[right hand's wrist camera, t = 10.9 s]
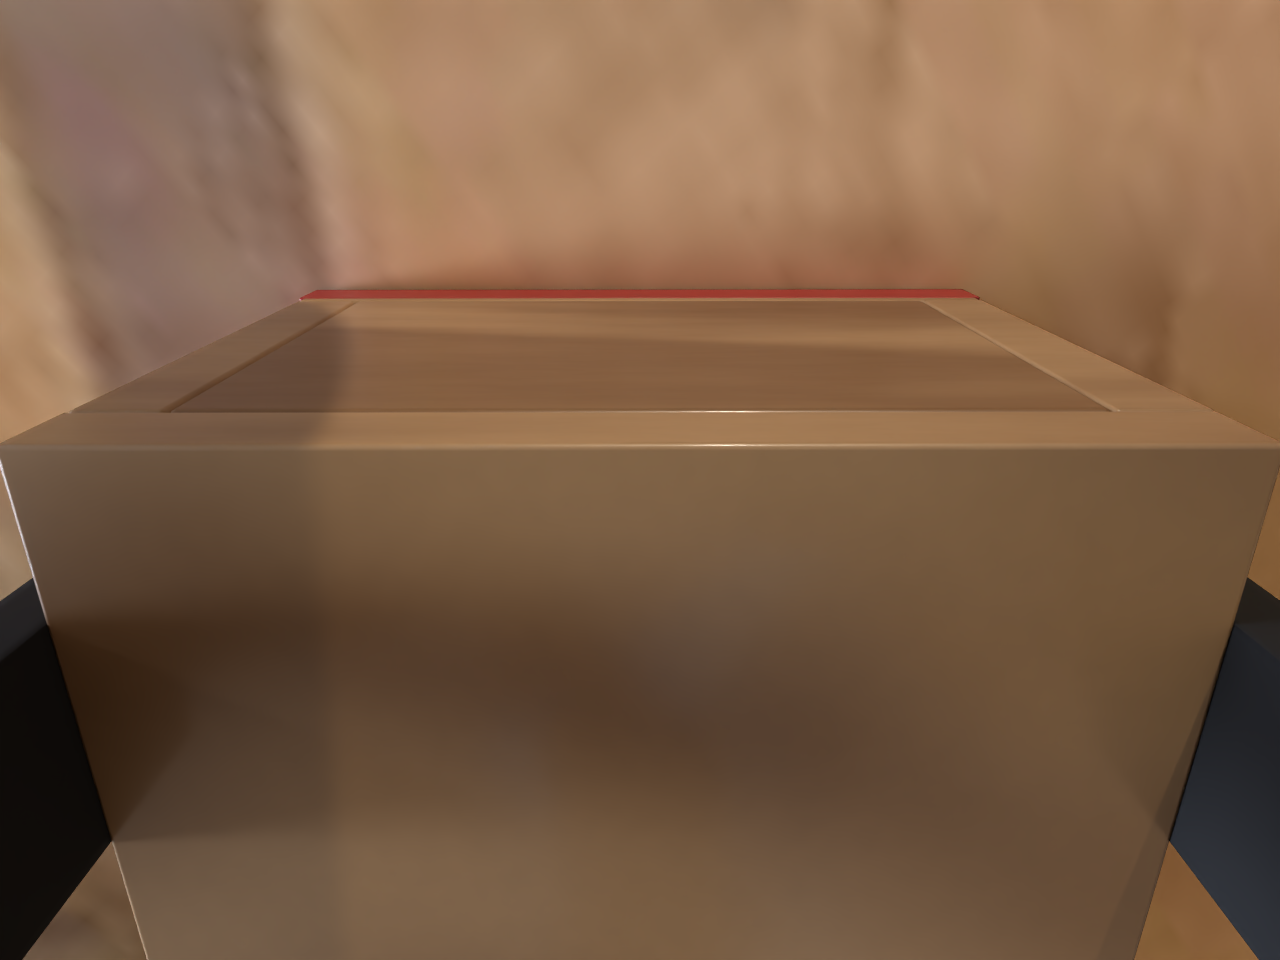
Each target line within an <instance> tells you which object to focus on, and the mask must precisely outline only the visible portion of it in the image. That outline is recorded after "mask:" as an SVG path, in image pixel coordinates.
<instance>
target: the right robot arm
mask: <svg viewBox="0 0 1280 960" xmlns="http://www.w3.org/2000/svg"><path fill="white" fill-rule="evenodd" d="M1169 841H1170V842H1171V844H1172V845H1173V846H1174V848H1175V849H1176V850H1177V852H1178V853H1179V854H1180V856H1181V857H1182V858H1183V860H1184V861H1185V862H1186V864H1187V865H1188V866H1189V868H1190V869H1191V870H1192V872H1193V873H1194V874H1195V876H1196V877H1197V878H1198V880H1199V881H1200V882H1201V884H1202V885H1203V886H1204V888H1205V889H1206V890H1207V891H1208V893H1209V894H1210V895H1211V897H1212V898H1213V899H1214V901H1215V902H1216V903H1217V905H1218V906H1219V907H1220V909H1221V910H1222V911H1223V913H1224V914H1225V915H1226V917H1227V918H1228V919H1229V921H1230V922H1231V923H1232V925H1233V926H1234V927H1235V929H1236V930H1237V931H1238V933H1239V934H1240V935H1241V937H1242V938H1243V939H1244V941H1245V942H1246V943H1247V945H1248V946H1249V947H1250V948H1251V950H1252V951H1253V952H1254V954H1255V955H1256V956H1257V958H1258V959H1259V960H1280V600H1278V599H1277V598H1275V597H1274V596H1273V595H1271V594H1270V593H1269V592H1267V591H1266V590H1264V589H1263V588H1262V587H1260V586H1259V585H1257V584H1256V583H1255V582H1253V581H1252V580H1250V579H1249V578H1248V577H1247V579H1246V583H1245V586H1244V590H1243V593H1242V596H1241V600H1240V603H1239V607H1238V610H1237V613H1236V617H1235V620H1234V623H1233V627H1232V630H1231V634H1230V637H1229V640H1228V644H1227V647H1226V650H1225V654H1224V657H1223V661H1222V664H1221V667H1220V671H1219V674H1218V677H1217V681H1216V684H1215V688H1214V691H1213V694H1212V698H1211V701H1210V704H1209V708H1208V711H1207V715H1206V718H1205V721H1204V725H1203V728H1202V732H1201V735H1200V738H1199V742H1198V745H1197V748H1196V752H1195V755H1194V759H1193V762H1192V765H1191V769H1190V772H1189V775H1188V779H1187V782H1186V786H1185V789H1184V792H1183V796H1182V799H1181V802H1180V806H1179V809H1178V813H1177V816H1176V819H1175V823H1174V826H1173V829H1172V833H1171V836H1170V840H1169ZM110 842H111V837H110V834H109V831H108V827H107V824H106V821H105V817H104V814H103V810H102V807H101V804H100V800H99V797H98V794H97V790H96V787H95V784H94V780H93V777H92V774H91V770H90V767H89V764H88V760H87V757H86V753H85V750H84V747H83V743H82V740H81V737H80V733H79V730H78V727H77V723H76V720H75V717H74V713H73V710H72V707H71V703H70V700H69V696H68V693H67V690H66V686H65V683H64V680H63V676H62V673H61V670H60V666H59V663H58V660H57V656H56V653H55V650H54V646H53V643H52V639H51V636H50V633H49V629H48V626H47V623H46V619H45V616H44V613H43V609H42V606H41V603H40V599H39V596H38V593H37V589H36V586H35V582H34V579H33V578H32V579H31V580H29V581H28V582H26V583H25V584H24V585H22V586H21V587H19V588H18V589H17V590H15V591H14V592H12V593H11V594H10V595H8V596H7V597H6V598H4V599H3V600H1V601H0V960H22V959H23V958H24V956H25V955H26V954H27V952H28V951H29V950H30V948H31V947H32V946H33V944H34V943H35V942H36V940H37V939H38V938H39V936H40V935H41V934H42V933H43V931H44V930H45V929H46V927H47V926H48V925H49V923H50V922H51V921H52V919H53V918H54V917H55V915H56V914H57V913H58V911H59V910H60V909H61V907H62V906H63V905H64V903H65V902H66V901H67V899H68V898H69V897H70V895H71V894H72V893H73V891H74V890H75V889H76V887H77V886H78V885H79V883H80V882H81V881H82V879H83V878H84V877H85V875H86V874H87V873H88V872H89V870H90V869H91V868H92V866H93V865H94V864H95V862H96V861H97V860H98V858H99V857H100V856H101V854H102V853H103V852H104V850H105V849H106V848H107V846H108V845H109V844H110Z"/></svg>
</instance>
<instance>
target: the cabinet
mask: <svg viewBox="0 0 1280 960" xmlns="http://www.w3.org/2000/svg"><path fill="white" fill-rule="evenodd" d="M0 468H1V472H2V475H3V479H4V482H5V485H6V489H7V492H8V495H9V499H10V502H11V505H12V509H13V512H14V515H15V519H16V522H17V525H18V529H19V532H20V536H21V539H22V542H23V546H24V549H25V552H26V556H27V559H28V562H29V566H30V569H31V572H32V576H33V579H34V582H35V586H36V589H37V593H38V596H39V599H40V603H41V606H42V609H43V613H44V616H45V619H46V623H47V626H48V629H49V633H50V636H51V639H52V643H53V646H54V650H55V653H56V656H57V660H58V663H59V666H60V670H61V673H62V676H63V680H64V683H65V686H66V690H67V693H68V696H69V700H70V703H71V707H72V710H73V713H74V717H75V720H76V723H77V727H78V730H79V733H80V737H81V740H82V743H83V747H84V750H85V753H86V757H87V760H88V764H89V767H90V770H91V774H92V777H93V780H94V784H95V787H96V790H97V794H98V797H99V800H100V804H101V807H102V810H103V814H104V817H105V821H106V824H107V827H108V831H109V834H110V837H111V841H112V844H113V847H114V851H115V854H116V857H117V861H118V864H119V868H120V871H121V874H122V878H123V881H124V884H125V888H126V891H127V894H128V898H129V901H130V904H131V908H132V911H133V914H134V918H135V921H136V925H137V928H138V931H139V935H140V938H141V941H142V945H143V948H144V951H145V955H146V958H147V960H1134V958H1135V954H1136V951H1137V948H1138V944H1139V941H1140V938H1141V934H1142V931H1143V927H1144V924H1145V921H1146V917H1147V914H1148V911H1149V907H1150V904H1151V900H1152V897H1153V894H1154V890H1155V887H1156V884H1157V880H1158V877H1159V873H1160V870H1161V867H1162V863H1163V860H1164V857H1165V853H1166V850H1167V846H1168V843H1169V840H1170V836H1171V833H1172V829H1173V826H1174V823H1175V819H1176V816H1177V813H1178V809H1179V806H1180V802H1181V799H1182V796H1183V792H1184V789H1185V786H1186V782H1187V779H1188V775H1189V772H1190V769H1191V765H1192V762H1193V759H1194V755H1195V752H1196V748H1197V745H1198V742H1199V738H1200V735H1201V732H1202V728H1203V725H1204V721H1205V718H1206V715H1207V711H1208V708H1209V704H1210V701H1211V698H1212V694H1213V691H1214V688H1215V684H1216V681H1217V677H1218V674H1219V671H1220V667H1221V664H1222V661H1223V657H1224V654H1225V650H1226V647H1227V644H1228V640H1229V637H1230V634H1231V630H1232V627H1233V623H1234V620H1235V617H1236V613H1237V610H1238V607H1239V603H1240V600H1241V596H1242V593H1243V590H1244V586H1245V583H1246V579H1247V576H1248V573H1249V569H1250V566H1251V563H1252V559H1253V556H1254V552H1255V549H1256V546H1257V542H1258V539H1259V536H1260V532H1261V529H1262V525H1263V522H1264V519H1265V515H1266V512H1267V509H1268V505H1269V502H1270V498H1271V495H1272V492H1273V488H1274V485H1275V482H1276V478H1277V475H1278V471H1279V468H1280V441H1278V440H1275V439H1273V438H1271V437H1269V436H1267V435H1265V434H1263V433H1261V432H1258V431H1256V430H1254V429H1252V428H1250V427H1248V426H1246V425H1244V424H1242V423H1239V422H1237V421H1235V420H1233V419H1231V418H1229V417H1227V416H1225V415H1223V414H1220V413H1218V412H1216V411H1214V410H1213V409H1211V408H1209V407H1207V406H1204V405H1202V404H1200V403H1198V402H1196V401H1194V400H1192V399H1190V398H1187V397H1185V396H1183V395H1181V394H1179V393H1177V392H1175V391H1173V390H1171V389H1168V388H1166V387H1164V386H1162V385H1160V384H1158V383H1156V382H1154V381H1151V380H1149V379H1147V378H1145V377H1143V376H1141V375H1139V374H1137V373H1135V372H1132V371H1130V370H1128V369H1126V368H1124V367H1122V366H1120V365H1118V364H1115V363H1113V362H1111V361H1109V360H1107V359H1105V358H1103V357H1101V356H1099V355H1096V354H1094V353H1092V352H1090V351H1088V350H1086V349H1084V348H1082V347H1079V346H1077V345H1075V344H1073V343H1071V342H1069V341H1067V340H1065V339H1063V338H1060V337H1058V336H1056V335H1054V334H1052V333H1050V332H1048V331H1046V330H1043V329H1041V328H1039V327H1037V326H1035V325H1033V324H1031V323H1029V322H1027V321H1024V320H1022V319H1020V318H1018V317H1016V316H1014V315H1012V314H1010V313H1007V312H1005V311H1003V310H1001V309H999V308H997V307H995V306H993V305H990V304H988V303H986V302H984V301H982V300H979V297H978V296H975V295H973V294H971V293H969V292H967V291H965V290H963V289H810V290H316V291H314V292H312V293H310V294H308V295H306V296H303V297H301V298H300V301H299V302H297V303H295V304H292V305H290V306H288V307H286V308H284V309H282V310H280V311H278V312H276V313H274V314H272V315H269V316H267V317H265V318H263V319H261V320H259V321H257V322H255V323H253V324H251V325H249V326H247V327H244V328H242V329H240V330H238V331H236V332H234V333H232V334H230V335H228V336H226V337H224V338H221V339H219V340H217V341H215V342H213V343H211V344H209V345H207V346H205V347H203V348H201V349H198V350H196V351H194V352H192V353H190V354H188V355H186V356H184V357H182V358H180V359H178V360H175V361H173V362H171V363H169V364H167V365H165V366H163V367H161V368H159V369H157V370H155V371H153V372H150V373H148V374H146V375H144V376H142V377H140V378H138V379H136V380H134V381H132V382H130V383H127V384H125V385H123V386H121V387H119V388H117V389H115V390H113V391H111V392H109V393H107V394H104V395H102V396H100V397H98V398H96V399H94V400H92V401H90V402H88V403H86V404H84V405H81V406H79V407H77V408H75V409H73V410H71V411H70V412H69V413H63V414H61V415H59V416H56V417H54V418H52V419H50V420H48V421H46V422H44V423H42V424H40V425H38V426H36V427H33V428H31V429H29V430H27V431H25V432H23V433H21V434H19V435H17V436H15V437H12V438H10V439H8V440H6V441H4V442H2V443H0Z"/></svg>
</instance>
